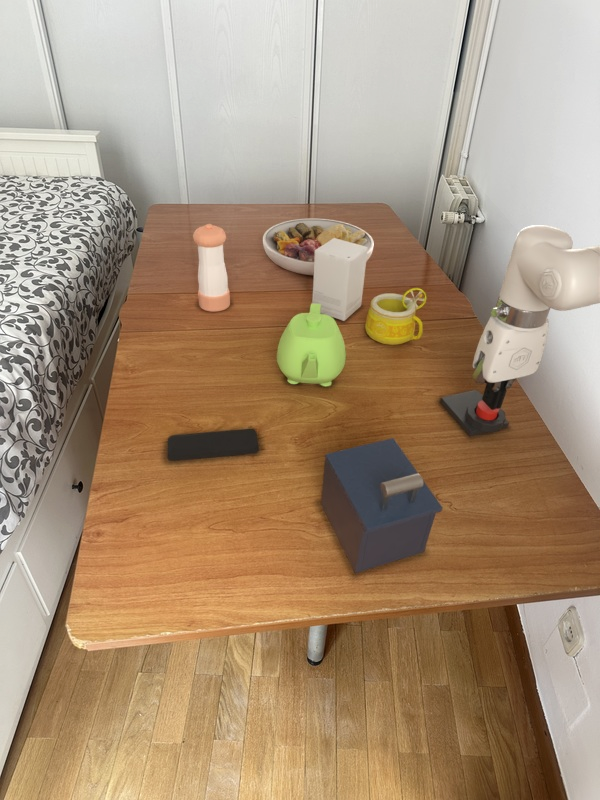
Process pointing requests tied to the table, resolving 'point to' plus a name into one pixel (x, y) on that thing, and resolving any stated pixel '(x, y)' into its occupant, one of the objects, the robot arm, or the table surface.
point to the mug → (394, 318)
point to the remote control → (212, 444)
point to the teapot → (311, 349)
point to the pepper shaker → (212, 268)
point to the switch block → (472, 413)
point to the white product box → (339, 277)
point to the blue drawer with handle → (382, 484)
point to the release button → (486, 411)
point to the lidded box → (375, 544)
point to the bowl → (308, 241)
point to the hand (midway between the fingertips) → (491, 404)
